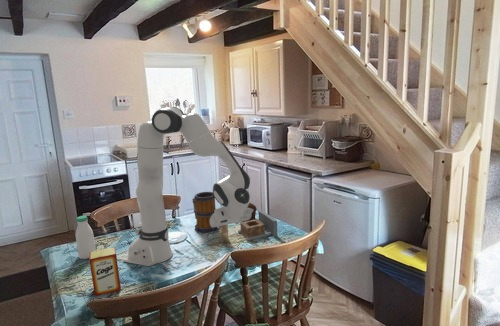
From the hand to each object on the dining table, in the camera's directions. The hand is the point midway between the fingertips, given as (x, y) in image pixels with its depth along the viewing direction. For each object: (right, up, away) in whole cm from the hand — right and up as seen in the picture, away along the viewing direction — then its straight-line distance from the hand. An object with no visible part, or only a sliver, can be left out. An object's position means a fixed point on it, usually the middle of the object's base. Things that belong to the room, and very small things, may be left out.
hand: (227, 224), depth 167 cm
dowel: (-2, -10, +8) cm, 13 cm away
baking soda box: (-46, -20, -31) cm, 59 cm away
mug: (-15, -6, +26) cm, 31 cm away
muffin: (+9, -3, +35) cm, 37 cm away
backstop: (+14, -7, +15) cm, 22 cm away
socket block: (+12, -7, +14) cm, 20 cm away
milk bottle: (-68, -15, -2) cm, 70 cm away
